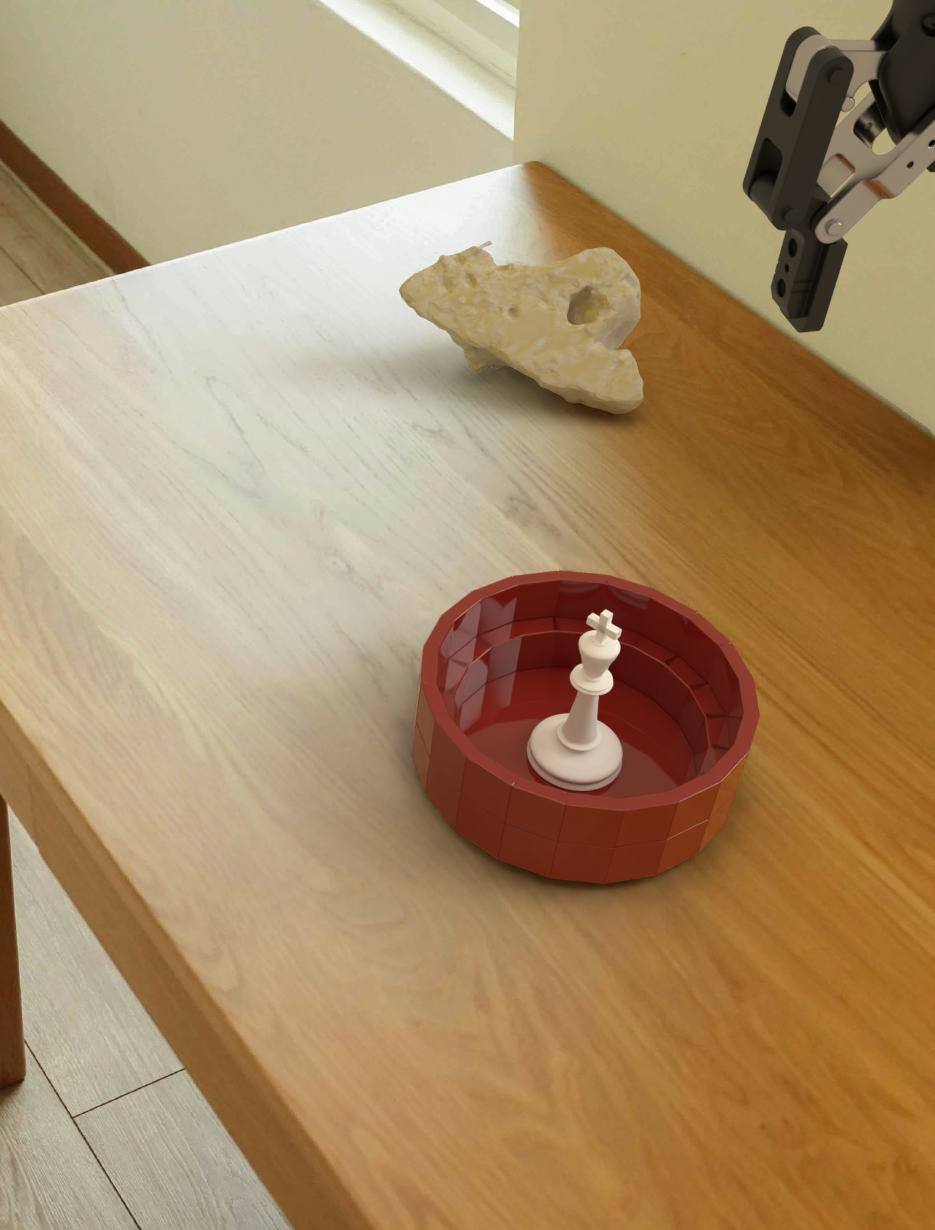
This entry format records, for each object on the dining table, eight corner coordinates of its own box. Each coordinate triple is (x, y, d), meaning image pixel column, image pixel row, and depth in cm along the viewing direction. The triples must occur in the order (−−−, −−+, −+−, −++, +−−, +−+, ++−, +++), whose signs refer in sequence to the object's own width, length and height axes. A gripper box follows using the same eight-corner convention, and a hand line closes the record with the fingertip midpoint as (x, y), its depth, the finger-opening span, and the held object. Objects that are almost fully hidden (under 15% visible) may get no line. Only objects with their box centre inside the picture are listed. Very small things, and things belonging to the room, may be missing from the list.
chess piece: (585, 807, 77) (620, 664, 70) (507, 755, 79) (534, 613, 73) (640, 755, 80) (679, 613, 73) (563, 707, 82) (593, 565, 75)
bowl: (658, 635, 88) (679, 555, 84) (785, 862, 76) (817, 782, 72) (377, 671, 84) (385, 589, 80) (463, 914, 73) (477, 832, 69)
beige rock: (666, 393, 109) (566, 208, 109) (702, 372, 102) (594, 173, 102) (481, 493, 108) (379, 304, 108) (504, 478, 100) (395, 276, 100)
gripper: (1194, -202, 50) (1018, 247, 61) (791, -195, 47) (684, 274, 58) (1356, -127, 44) (1131, 350, 55) (912, -114, 42) (769, 385, 53)
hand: (903, 311), depth 57 cm, fingers open, 8 cm apart
